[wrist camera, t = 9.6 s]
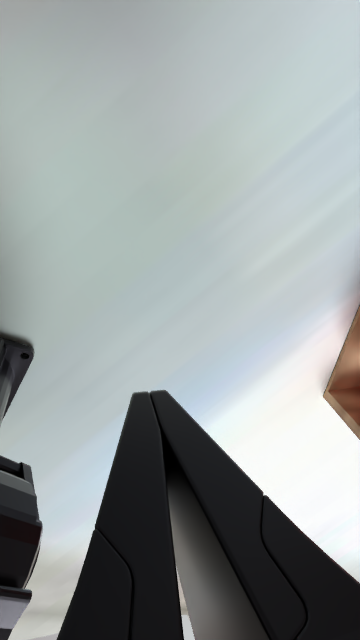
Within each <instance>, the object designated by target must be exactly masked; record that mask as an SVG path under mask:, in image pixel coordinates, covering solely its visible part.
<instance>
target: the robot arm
mask: <svg viewBox="0 0 360 640" xmlns="http://www.w3.org/2000/svg"><path fill="white" fill-rule="evenodd" d="M22 353H27V354H29V355H23V354H22ZM33 357H34V349H33V348H31V347H29V346H26V345H23V344H20V343H16V342H13V341H10V340H6V339H3V338H1V337H0V426H1V423H2V419H3V418H4V416H5V414H6V412H7V410H8V408H9V406H10V404H11V402H12V400H13V398H14V396H15V394H16V392H17V390H18V388H19V386H20V384H21V382H22V380H23V378H24V376H25V374H26V372H27V370H28V368H29V366H30V364H31V362H32V360H33ZM42 532H43V526H42V522H41V521H40V520H39V514H38V508H37V496H36V494H35V490H34V484H33V478H32V472H31V467H30V466H29V465H27V464H24V463H22V462H21V463H17V462H14V461H12V460H10V459H7V458H5V457H3V456H0V640H8V638H9V636H10V634H11V631H12V629H13V628H14V626H15V624H16V623H17V621H18V620H19V618H20V616H21V615H22V613H23V612H24V610H25V608H26V607H27V605H28V604H29V602H30V600H31V597H32V591H31V590H29V589H25V587H26V585H27V583H28V581H29V579H30V577H31V575H32V572H33V570H34V567H35V564H36V562H37V558H38V554H39V550H40V542H41V537H42ZM175 562H176V563H175ZM176 566H177V570H178V574H179V578H180V582H181V586H182V590H183V594H184V597H185V601H186V605H187V609H188V613H189V617H190V621H191V625H192V629H193V633H194V637H195V640H360V583H359V582H358V581H357V580H355V579H354V578H353V577H352V576H351V575H350V574H349V573H347V572H346V571H345V570H344V569H343V568H342V567H341V566H340V565H338V564H337V563H336V562H335V561H334V560H333V559H332V558H330V557H329V556H328V555H327V554H326V553H325V552H324V551H323V550H322V549H321V548H319V547H318V546H317V545H316V544H315V543H314V542H313V541H312V540H311V539H310V538H309V537H307V536H306V535H305V534H304V533H303V532H302V531H301V530H300V529H299V528H298V527H297V526H296V525H295V524H294V523H293V522H292V521H291V520H290V519H289V518H288V517H287V516H286V515H285V514H284V513H283V512H282V511H281V510H280V509H279V508H278V507H277V506H276V505H275V504H274V503H273V502H272V501H271V500H270V499H269V497H268V496H267V495H264V496H263V491H262V490H261V489H260V488H259V487H258V486H257V485H256V484H255V483H254V482H253V481H252V480H251V479H250V478H249V477H248V476H247V475H246V474H245V472H244V471H243V470H242V469H241V468H240V467H239V466H238V465H237V464H236V463H235V462H234V461H233V460H232V459H231V458H230V457H229V456H228V455H227V454H226V453H225V452H224V450H223V449H222V448H221V447H220V446H219V445H218V444H217V443H216V442H215V441H214V440H213V439H212V438H211V437H210V436H209V435H208V434H207V433H206V432H205V431H204V430H203V429H202V427H201V426H200V425H199V424H198V423H197V422H196V421H195V420H194V419H193V418H192V417H191V416H190V415H189V414H188V413H187V412H186V411H185V410H184V409H183V408H182V407H181V405H180V404H179V403H178V402H177V401H176V400H175V399H174V398H173V397H172V396H171V395H170V394H169V393H168V392H167V391H166V390H157V391H151V392H150V393H149V392H135V393H133V394H132V397H131V401H130V404H129V408H128V411H127V415H126V418H125V422H124V425H123V429H122V432H121V436H120V439H119V443H118V446H117V450H116V453H115V457H114V461H113V464H112V468H111V471H110V475H109V478H108V482H107V485H106V489H105V492H104V496H103V499H102V503H101V506H100V510H99V513H98V517H97V520H96V524H95V530H94V531H93V534H92V537H91V541H90V544H89V548H88V551H87V555H86V558H85V561H84V564H83V567H82V571H81V574H80V577H79V580H78V583H77V586H76V589H75V592H74V595H73V597H72V600H71V603H70V605H69V608H68V611H67V614H66V616H65V619H64V622H63V624H62V627H61V630H60V632H59V635H58V638H57V640H184V636H183V627H182V618H181V608H180V599H179V590H178V581H177V572H176Z"/></svg>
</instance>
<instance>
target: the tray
mask: <svg viewBox="0 0 360 640" xmlns="http://www.w3.org/2000/svg"><path fill="white" fill-rule="evenodd" d="M323 397H324V398H325V400H326V401H327V402H328V403H329V404H330V406H331V407H332V408H333V409H334V410H335V411H336V413H337V414H338V415H339V416H340V417H341V418H342V420H343V421H344V422H345V423H346V424H347V426H348V427H349V428H350V429H351V430H352V431H353V433H354V434H355V435H356V436H357V437H358V438H359V440H360V306H359V309H358V311H357V314H356V316H355V319H354V321H353V324H352V326H351V329H350V331H349V333H348V336H347V338H346V341H345V343H344V346H343V348H342V351H341V353H340V356H339V358H338V361H337V363H336V366H335V368H334V371H333V373H332V376H331V378H330V381H329V383H328V386H327V388H326V391H325V393H324V396H323Z"/></svg>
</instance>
